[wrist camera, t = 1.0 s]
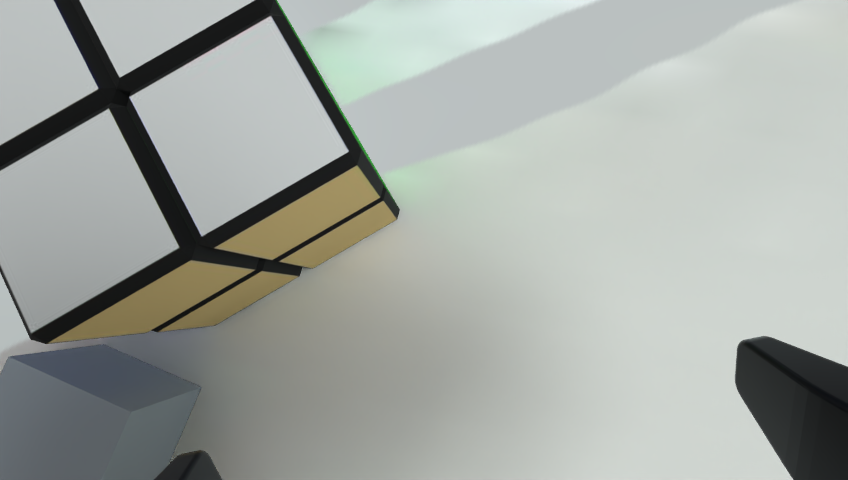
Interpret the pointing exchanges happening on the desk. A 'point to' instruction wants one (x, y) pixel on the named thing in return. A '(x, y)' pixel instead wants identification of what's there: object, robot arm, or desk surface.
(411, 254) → the desk surface
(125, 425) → the slate block
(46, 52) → the puzzle cube
